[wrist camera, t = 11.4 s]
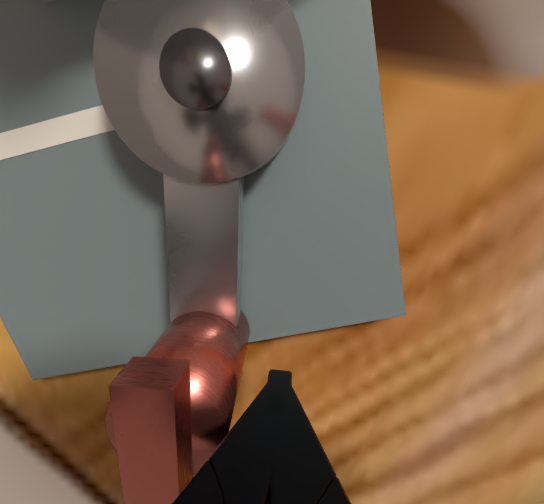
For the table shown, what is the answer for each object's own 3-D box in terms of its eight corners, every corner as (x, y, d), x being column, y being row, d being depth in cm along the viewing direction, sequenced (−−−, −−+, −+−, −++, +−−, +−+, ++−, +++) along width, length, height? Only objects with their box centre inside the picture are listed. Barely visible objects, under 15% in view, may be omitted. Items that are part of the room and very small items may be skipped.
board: (394, 302, 10) (406, 315, 9) (53, 363, 12) (32, 380, 11) (278, -647, 5) (277, -830, 4) (-294, -343, 7) (-393, -430, 6)
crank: (112, -26, 7) (-196, -382, 3) (310, -20, 7) (357, -380, 2) (145, 368, 10) (33, 525, 6) (281, 379, 10) (278, 548, 6)
